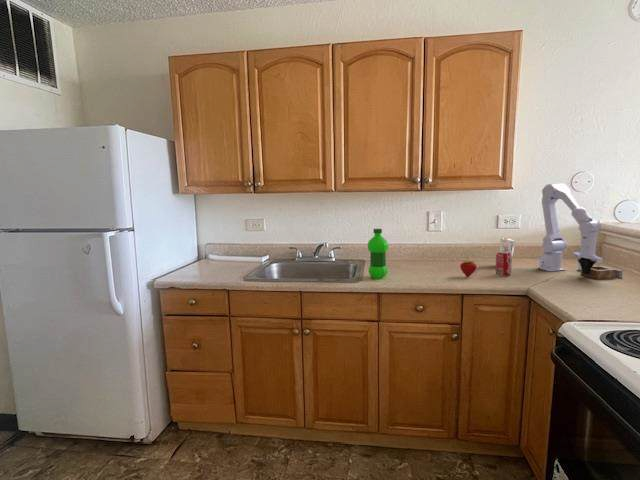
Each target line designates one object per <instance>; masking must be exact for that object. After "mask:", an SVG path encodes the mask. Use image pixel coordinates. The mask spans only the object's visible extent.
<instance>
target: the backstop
mask: <svg viewBox="0 0 640 480" xmlns="http://www.w3.org/2000/svg"><path fill="white" fill-rule="evenodd" d="M601 266H602V267H606V268H610V269H614V270H615V278H618V279H621V278H623V270H621V269H618V268H613V267H610V266H605V265H601Z"/></svg>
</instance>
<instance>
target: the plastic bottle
mask: <svg viewBox="0 0 640 480" xmlns="http://www.w3.org/2000/svg"><path fill="white" fill-rule="evenodd" d="M382 229H383V228H373V234H374V236H373V237H371V238H370V239H369V240H368V242H367V249H368V251H369V254H370V265H369V267H368V274H369V275H370V277H372V278H373V279H374V280H380V279H384V278H385V277H386V276H387V274H388V267H387V265H386V263H387V262H386V259H387V257H386V256H387V255H386V253H387V251H388V249H389V243H388V241H387V240H386V238H384V237H383V236H382V233H383V230H382Z"/></svg>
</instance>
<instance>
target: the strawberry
mask: <svg viewBox="0 0 640 480" xmlns="http://www.w3.org/2000/svg"><path fill="white" fill-rule="evenodd" d="M474 262H475V261H473V260H468V257H467V259H466V260H463V262H462V263H460V266H459V267H460V271H462V274H464V276H466V277H467V278H469V277H471V276H472V275H473V274H474V273H475V272H476V270H477V264H476V263H474ZM466 277H465V278H466Z"/></svg>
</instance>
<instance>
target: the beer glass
mask: <svg viewBox="0 0 640 480" xmlns="http://www.w3.org/2000/svg"><path fill="white" fill-rule="evenodd" d="M499 251H509V252H511V255H512V257H513V255H514V251H515V239H514V238H510V237H509V238H500V240H499Z"/></svg>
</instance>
